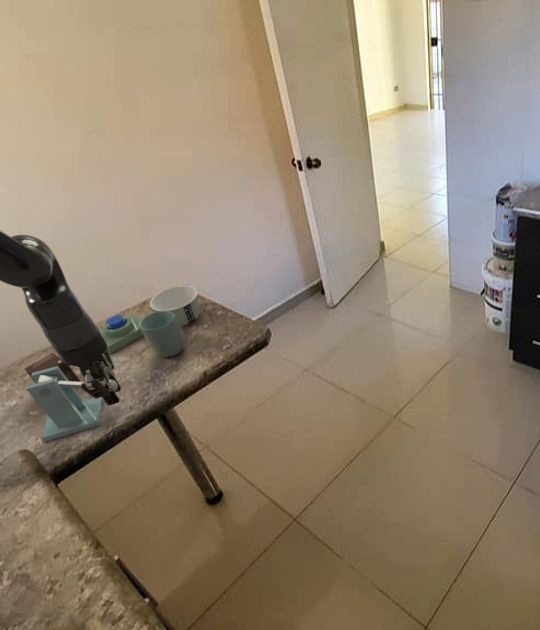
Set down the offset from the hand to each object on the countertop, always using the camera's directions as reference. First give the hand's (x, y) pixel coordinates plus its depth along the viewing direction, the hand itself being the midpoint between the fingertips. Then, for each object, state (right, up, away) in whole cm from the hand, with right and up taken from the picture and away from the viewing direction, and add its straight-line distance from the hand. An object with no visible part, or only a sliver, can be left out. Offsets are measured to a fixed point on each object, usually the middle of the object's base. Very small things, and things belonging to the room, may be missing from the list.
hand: (114, 396), depth 94 cm
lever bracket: (-8, -5, -1) cm, 9 cm away
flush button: (-13, +15, +20) cm, 28 cm away
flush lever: (-5, +2, -4) cm, 6 cm away
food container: (-1, +17, +28) cm, 33 cm away
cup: (+3, +8, +16) cm, 19 cm away
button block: (-13, +12, +22) cm, 28 cm away
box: (-17, +1, +7) cm, 19 cm away
